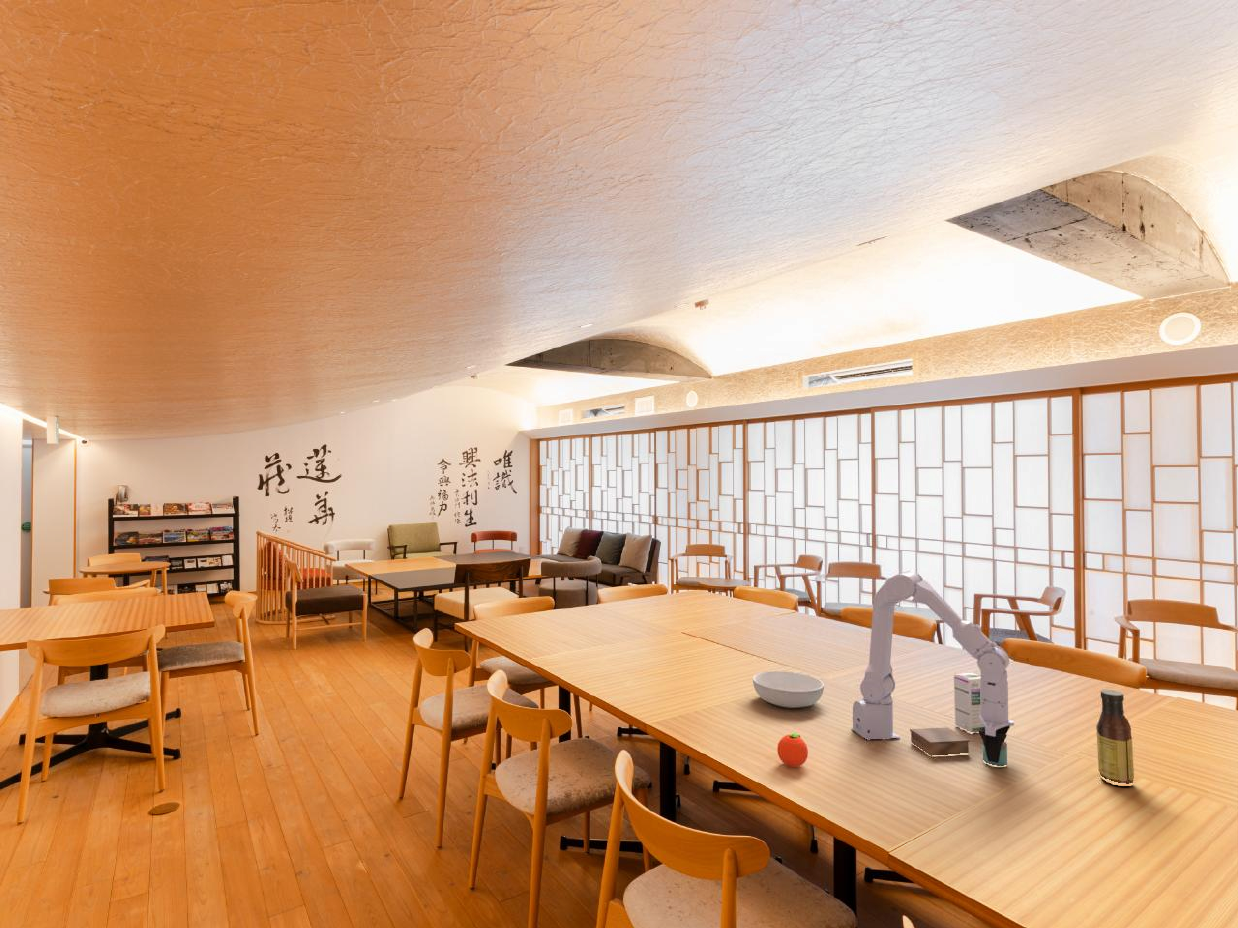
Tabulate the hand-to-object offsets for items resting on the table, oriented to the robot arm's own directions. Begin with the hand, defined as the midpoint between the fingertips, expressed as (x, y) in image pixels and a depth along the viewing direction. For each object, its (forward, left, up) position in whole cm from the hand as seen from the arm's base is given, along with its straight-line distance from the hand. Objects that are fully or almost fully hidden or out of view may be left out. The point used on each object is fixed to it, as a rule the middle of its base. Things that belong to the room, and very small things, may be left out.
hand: (994, 757), depth 149 cm
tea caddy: (0, 0, -1) cm, 1 cm away
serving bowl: (-32, +46, -2) cm, 56 cm away
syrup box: (+9, +20, -2) cm, 22 cm away
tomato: (-48, +5, -2) cm, 48 cm away
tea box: (-8, +9, -2) cm, 12 cm away
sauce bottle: (+20, -12, -2) cm, 23 cm away
